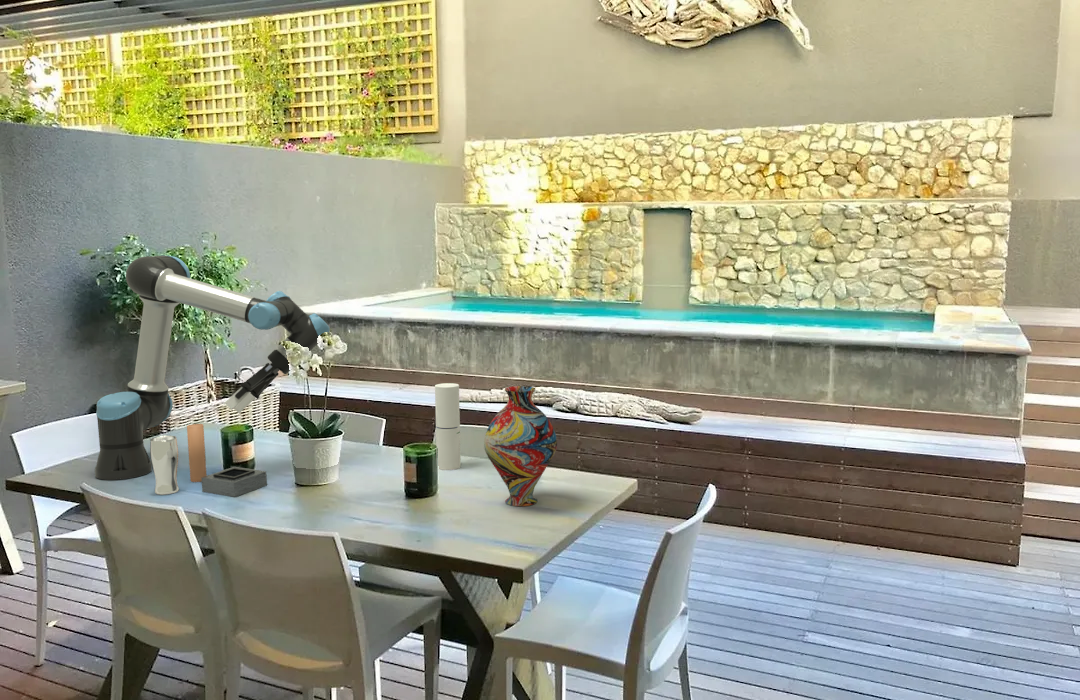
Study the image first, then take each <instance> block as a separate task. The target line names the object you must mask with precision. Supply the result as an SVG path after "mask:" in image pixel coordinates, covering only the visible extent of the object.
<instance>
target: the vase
mask: <svg viewBox="0 0 1080 700" xmlns="http://www.w3.org/2000/svg"><path fill="white" fill-rule="evenodd" d="M504 391H505V393H506V394H507V396H508V401H507V403H506V404H505V405H504V406H503V408H501V409H500V410H499V411H498V412H497V413H496V414H495V416H493V418H492V420H491V421H490V424H488V427H487V430H486V432H485V434H484V435H485V436H484V441H483V442H484V445H483V446H484V447H483V449H484V451H485V454H486V455H487V458H488V459H489V460H490V462H491V464H492V465H493V468H494V469H495V470H496V471H497V473H498V474H499V475H498V476H500V478H501V480H502V481H503V482H504V485H505V486H506V487H507V490H508V493H509V496H508V497H507V498H506V500H505V501H504V502H505V504H507V505H510V506H513V507H529V506H532V505H535V504H537V503H538V499H537V498H535V497H534V496H533V495H534V494H533V493H534V491H535V488H536V486H537V484H538V482H539V480H540V479H541V477H542V475H543V474H544V472H545V470H546V469H547V468H548V466H549V464H550V463H551V461H552V459H553V458H554V456H555V453H556V452H557V448H558V442H557V441H558V440H557V435H556V431H555V429H554V426H553V425H552V422H551V421H550V420H549V419H550V418H548V417H547V415H546V414H545V413H544V412H543V411H542V410H541V409H539V408H538V407H537V406H536V405H535V404H534V402H533V394H534V392H535V391H536V387H534V386H529V385H516V386H507V387H505V388H504Z"/></svg>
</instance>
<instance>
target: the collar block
mask: <svg viewBox="0 0 1080 700" xmlns="http://www.w3.org/2000/svg"><path fill="white" fill-rule="evenodd" d="M201 479H202V481H201V491H202V493H209V494H214V495H219V496H227V497H231V498H232V497H233V498H237V497H239V496H242V495H245V494H247V493H250V492H252V491H255V490H258V489H260V488H261V489H262V488H263V487H266V486H267V485H268V481H267V480H268V478H267V471H265V470H261V469H260V470H259V469H253V468H245V467H239V466H232V467H230V468H226V469H224V470H220V471H218V472H217V471H216V472H213V473H211V474H208V475H207V476H205V477H202V478H201Z"/></svg>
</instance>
